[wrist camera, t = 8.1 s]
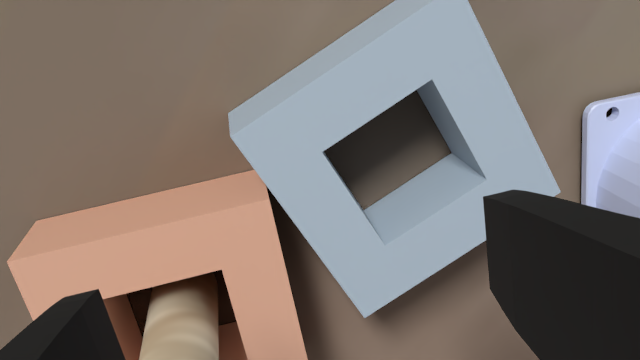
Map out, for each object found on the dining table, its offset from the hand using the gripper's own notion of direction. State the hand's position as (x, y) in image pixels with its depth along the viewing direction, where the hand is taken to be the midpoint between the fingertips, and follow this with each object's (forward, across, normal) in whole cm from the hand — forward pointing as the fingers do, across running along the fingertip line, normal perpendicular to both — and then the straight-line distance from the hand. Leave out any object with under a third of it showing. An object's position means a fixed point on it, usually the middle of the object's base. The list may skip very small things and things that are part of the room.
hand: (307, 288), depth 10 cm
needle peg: (+10, +4, +5) cm, 12 cm away
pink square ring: (+10, +4, +5) cm, 12 cm away
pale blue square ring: (+10, -4, +1) cm, 11 cm away
